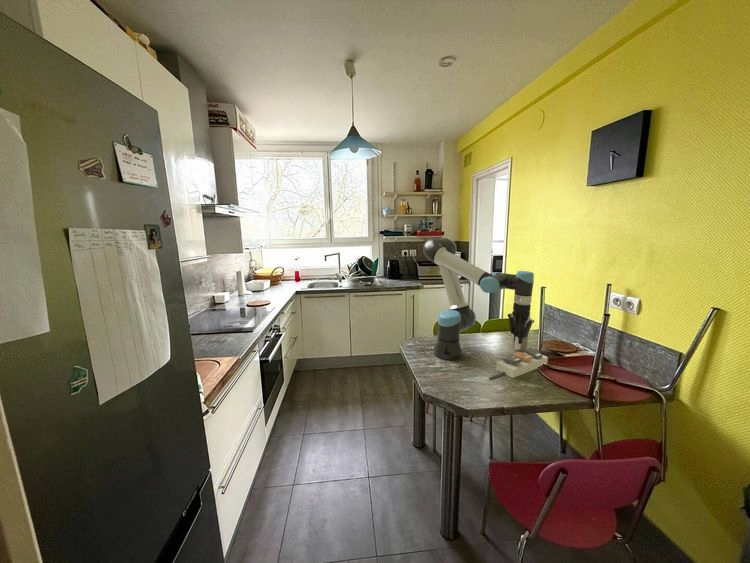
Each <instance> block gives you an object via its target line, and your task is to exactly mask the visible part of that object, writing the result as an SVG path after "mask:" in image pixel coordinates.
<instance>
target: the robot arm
mask: <svg viewBox="0 0 750 563" xmlns="http://www.w3.org/2000/svg"><path fill="white" fill-rule="evenodd" d="M422 248H423V249H422V251H423V252H422V253H423V255H424V256H425V258H426V259H428V260H429V261H431V262H433V263H434V264H436V265H437V266H438V267H439V269H440V272H441V273H440V274H441V277H442V280H443V284H444V287H445V292H446V296H447V299H448V303H449V307H448V309H447V310H446V309H445V310H442V311H441V312H440V313H439V314H438V317H437V336H436V337H437V339H436V342H435V345H434V348H433V355H434V356H436V357H437V358H440V359H443V360H459V359H460V358H462V357H463V350H462V347H461V343H460V337H461V335H460V334H461V333H462V332H464V331H466V330H469V329H470V328H472V327H473V326H474V324H475V323H476V320H477V317H476V313H475V311H474V310H473V309H472V308H470V304H469V303H468V302H466V300H465V297H464V294H463V289H462V286H461V283H460V278H459V275H460V276H461V277H463V278H465V279H466V280H468V281H471V283H474V284H476V285H477V286H479V287H480V289H481V291H483V293H486V294H492V293H496V292H498V291H501V290H503V289H506V290H513V291H514V297H513V306H512V312H511V313H507V317H508V321H509V329H510V334H511V335H512V334H513V335H514V342H515V346H514V349H516V350H518V349H520V347H521V344H522V341H523V338H524V337H527V336H528V337H529V333H530V330H531V328H532V325H533V324H534V323H535V319H532V318H531V306H532V305H531V304H532V298H533V289H534V279H535V274H534V273H533V272H531V271H528V270H527V271H526V270H518V271H516V274H512V273H507V272H506V273H505V272H500V271H499V272H492V273H489V272H488V271H486V270H484V269H482V268H480V267H478V266H476V265H475V264H473V263H471V262H469V261H467V260H465V259H463V258H461V257H460V256H457V255H456V253H457V249H458V248H457V244H456V243H455V242H454V240H453V239H451V238H448V237H441V238H440V237H439V238H430V239H428V240H427V241H426V242H425V243H424V244H423V246H422ZM529 313H530V315H529ZM514 318H515V320H514ZM527 320H528V321H527ZM526 321H527V322H528V323H527V324H526ZM525 324H526V327H525ZM518 335H519V336H518Z"/></svg>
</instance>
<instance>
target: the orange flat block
mask: <svg viewBox="0 0 750 563" xmlns="http://www.w3.org/2000/svg"><path fill="white" fill-rule="evenodd" d="M524 353H525V352H520V351H517V352H516V353H514V354H513V356H512V357H516V358H521V359H523V360H524V361H529V360H532V359H533V356H530V355H527V354H524Z"/></svg>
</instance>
